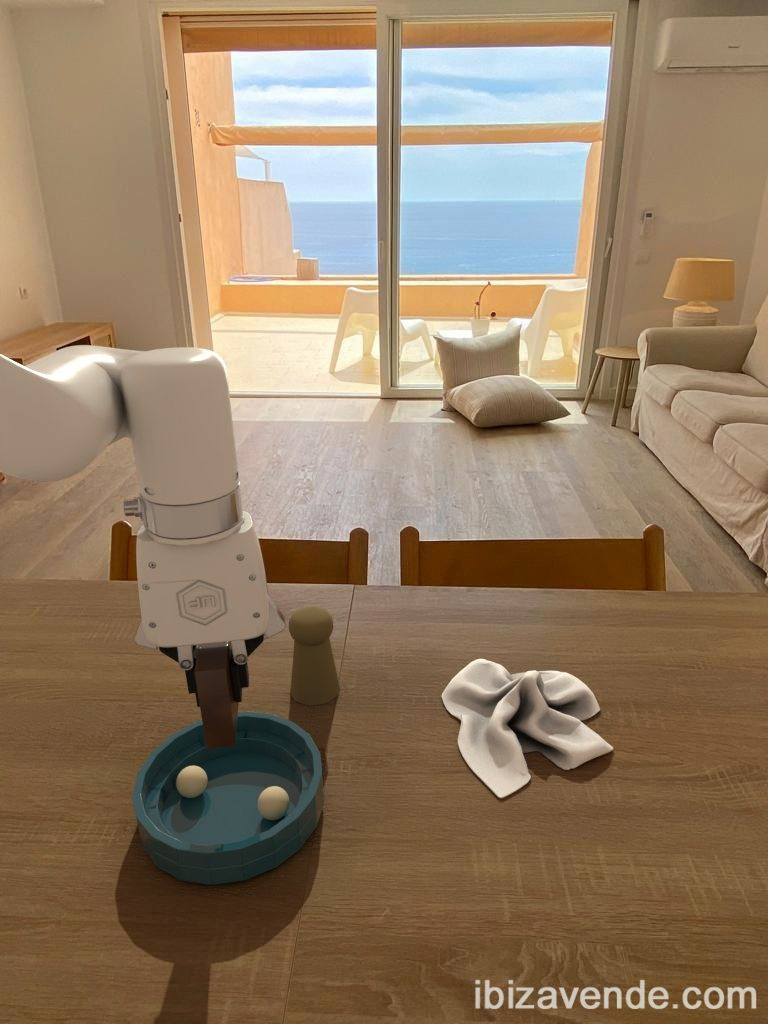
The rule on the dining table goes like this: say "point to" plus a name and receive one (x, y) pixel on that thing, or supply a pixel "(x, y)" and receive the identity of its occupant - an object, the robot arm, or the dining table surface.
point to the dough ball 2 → (273, 803)
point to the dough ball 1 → (191, 781)
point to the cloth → (520, 721)
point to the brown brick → (216, 695)
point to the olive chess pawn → (313, 657)
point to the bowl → (229, 800)
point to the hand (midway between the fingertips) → (220, 693)
